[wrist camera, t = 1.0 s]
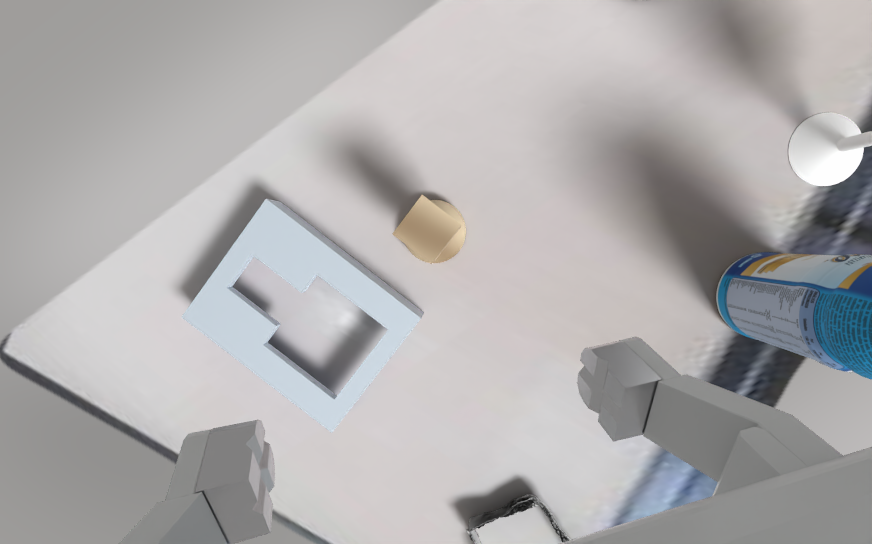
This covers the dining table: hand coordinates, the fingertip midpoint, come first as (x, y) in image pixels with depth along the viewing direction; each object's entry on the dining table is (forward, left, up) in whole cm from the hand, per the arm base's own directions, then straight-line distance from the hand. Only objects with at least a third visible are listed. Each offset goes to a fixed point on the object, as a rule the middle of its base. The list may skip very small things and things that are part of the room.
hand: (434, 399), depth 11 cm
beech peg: (-3, -4, -32) cm, 33 cm away
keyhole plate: (+11, -9, -32) cm, 35 cm away
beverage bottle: (-17, +24, -32) cm, 44 cm away
